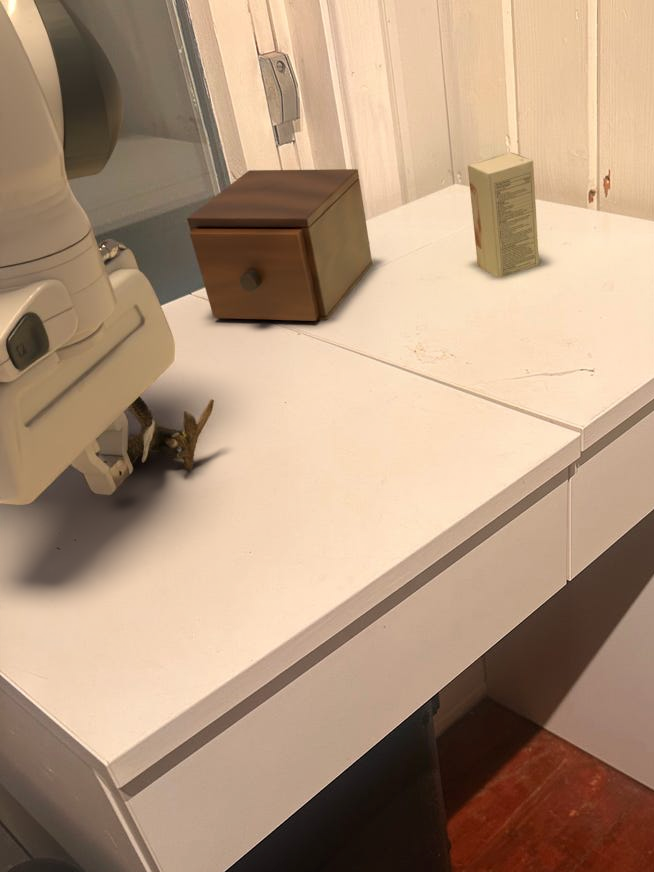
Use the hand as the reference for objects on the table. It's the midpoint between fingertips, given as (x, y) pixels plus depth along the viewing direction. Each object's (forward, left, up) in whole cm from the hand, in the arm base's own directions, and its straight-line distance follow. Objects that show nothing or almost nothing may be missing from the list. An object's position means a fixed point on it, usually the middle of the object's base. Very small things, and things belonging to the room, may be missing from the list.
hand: (113, 483), depth 65 cm
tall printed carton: (+19, +43, -2) cm, 47 cm away
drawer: (-1, +34, -1) cm, 34 cm away
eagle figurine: (0, +5, -2) cm, 6 cm away
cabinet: (-1, +36, -2) cm, 36 cm away
